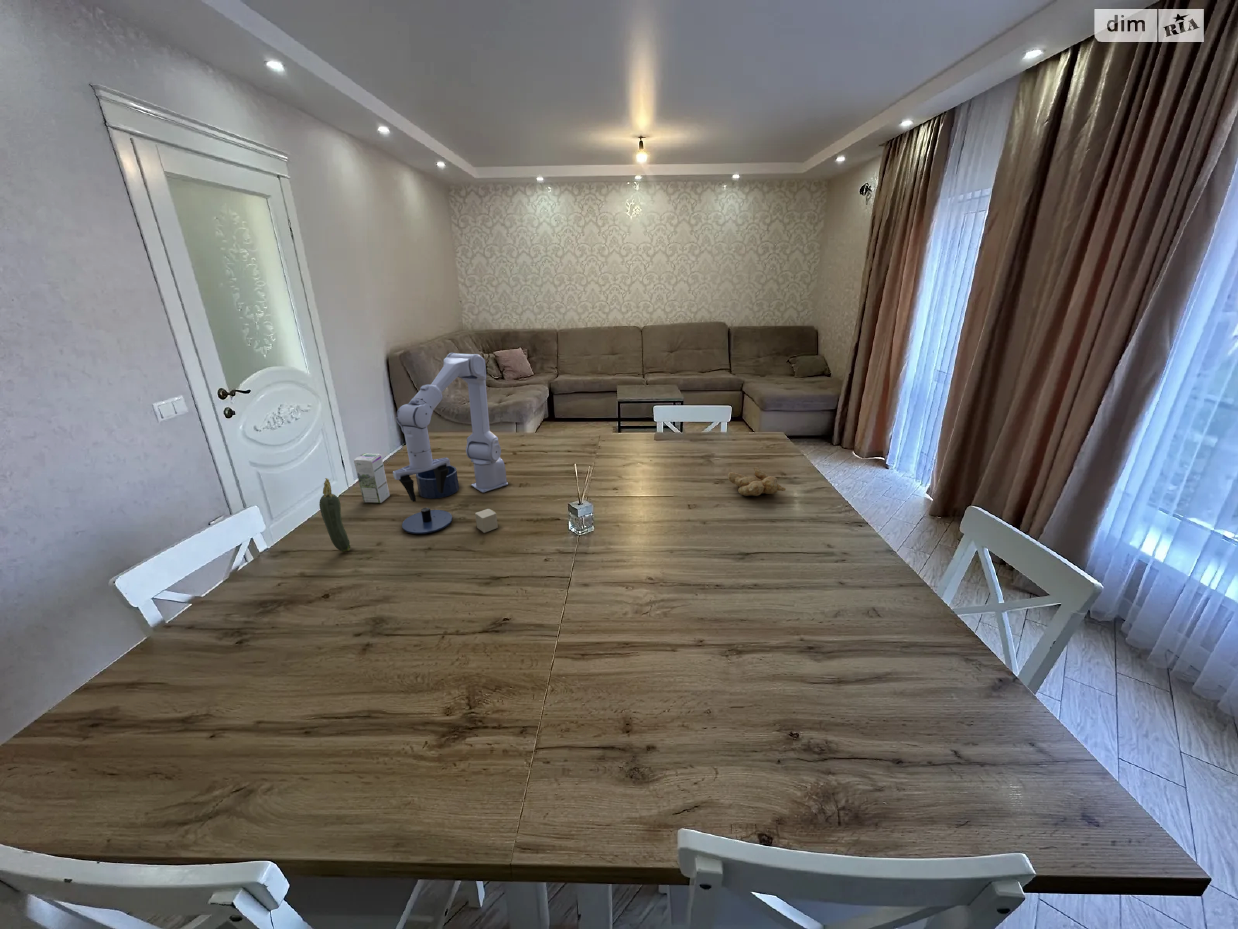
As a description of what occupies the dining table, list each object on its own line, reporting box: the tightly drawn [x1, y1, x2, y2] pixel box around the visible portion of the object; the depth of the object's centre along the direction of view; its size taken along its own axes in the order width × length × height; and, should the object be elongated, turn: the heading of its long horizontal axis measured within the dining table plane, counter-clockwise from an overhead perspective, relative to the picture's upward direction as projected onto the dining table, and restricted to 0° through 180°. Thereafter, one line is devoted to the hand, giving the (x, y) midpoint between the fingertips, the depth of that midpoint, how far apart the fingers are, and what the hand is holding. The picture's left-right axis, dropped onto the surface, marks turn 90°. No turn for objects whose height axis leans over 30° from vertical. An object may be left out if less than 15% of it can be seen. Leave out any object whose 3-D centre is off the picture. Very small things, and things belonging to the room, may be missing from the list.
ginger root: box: [726, 466, 787, 497], centre depth 152 cm, size 16×16×8 cm
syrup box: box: [353, 453, 391, 504], centre depth 148 cm, size 6×6×14 cm
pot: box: [415, 465, 460, 499], centre depth 155 cm, size 12×12×6 cm
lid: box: [401, 507, 453, 535], centre depth 135 cm, size 13×13×5 cm
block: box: [474, 508, 499, 534], centre depth 132 cm, size 4×4×4 cm
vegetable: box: [318, 477, 351, 553], centre depth 118 cm, size 4×4×20 cm
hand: (427, 496), depth 132 cm, fingers open, 7 cm apart
